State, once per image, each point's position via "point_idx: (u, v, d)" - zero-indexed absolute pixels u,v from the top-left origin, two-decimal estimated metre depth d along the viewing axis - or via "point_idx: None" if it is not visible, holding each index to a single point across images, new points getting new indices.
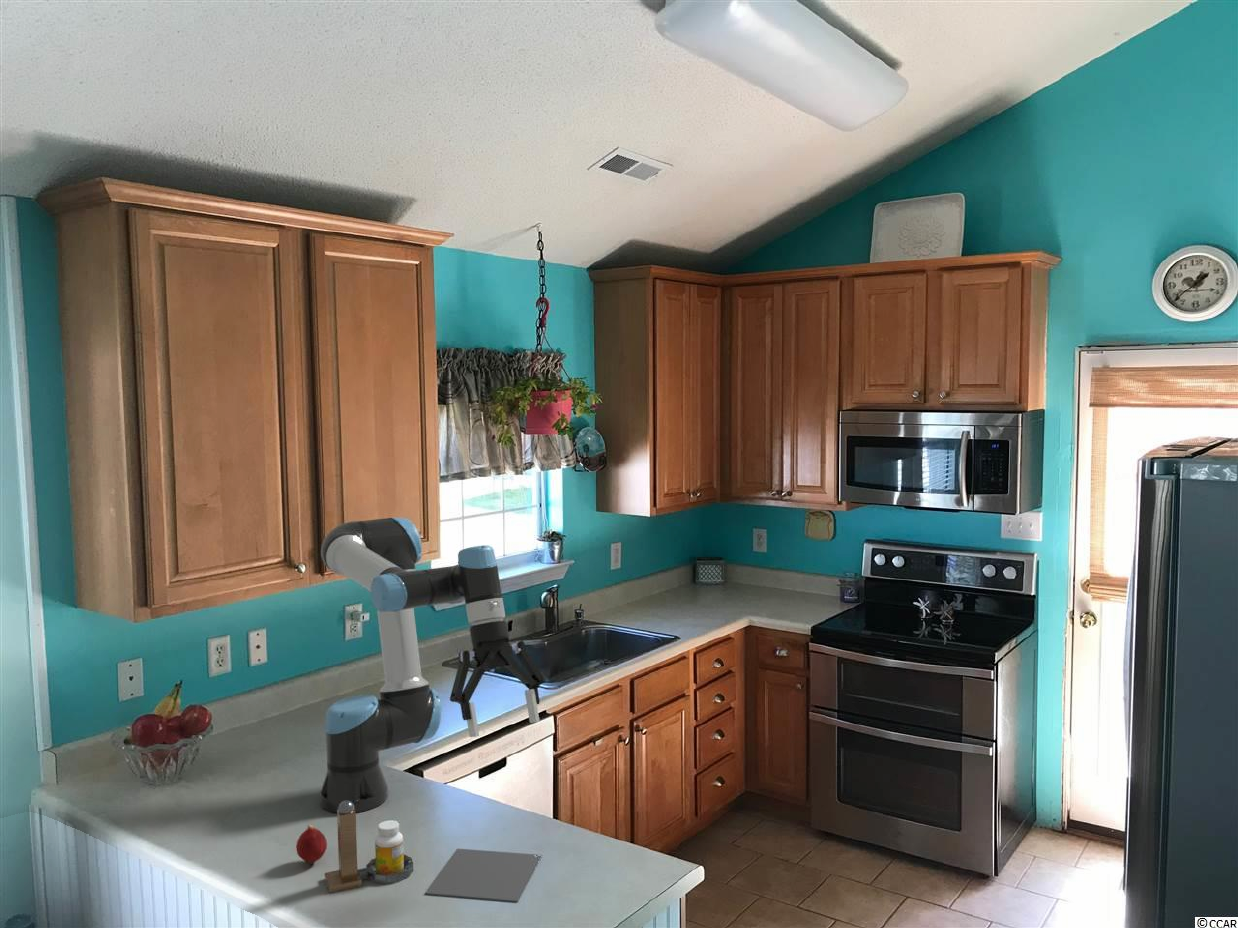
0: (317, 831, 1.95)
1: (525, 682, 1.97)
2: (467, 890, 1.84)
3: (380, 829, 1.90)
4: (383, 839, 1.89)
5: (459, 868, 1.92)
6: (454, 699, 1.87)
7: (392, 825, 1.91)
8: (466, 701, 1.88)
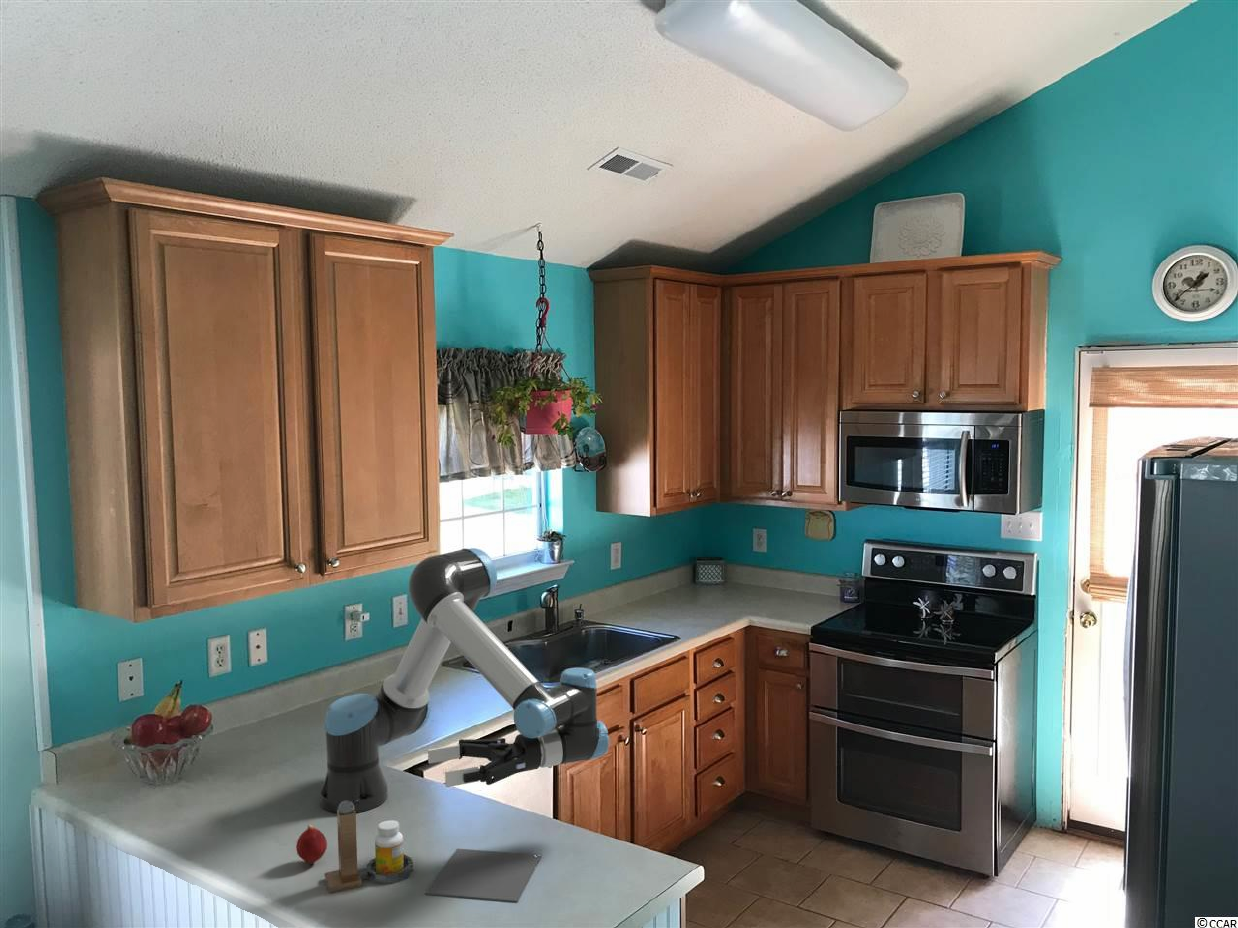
0: (317, 831, 1.95)
1: (467, 751, 2.03)
2: (467, 890, 1.84)
3: (380, 829, 1.90)
4: (383, 839, 1.89)
5: (459, 868, 1.92)
6: (488, 782, 1.89)
7: (392, 825, 1.91)
8: None
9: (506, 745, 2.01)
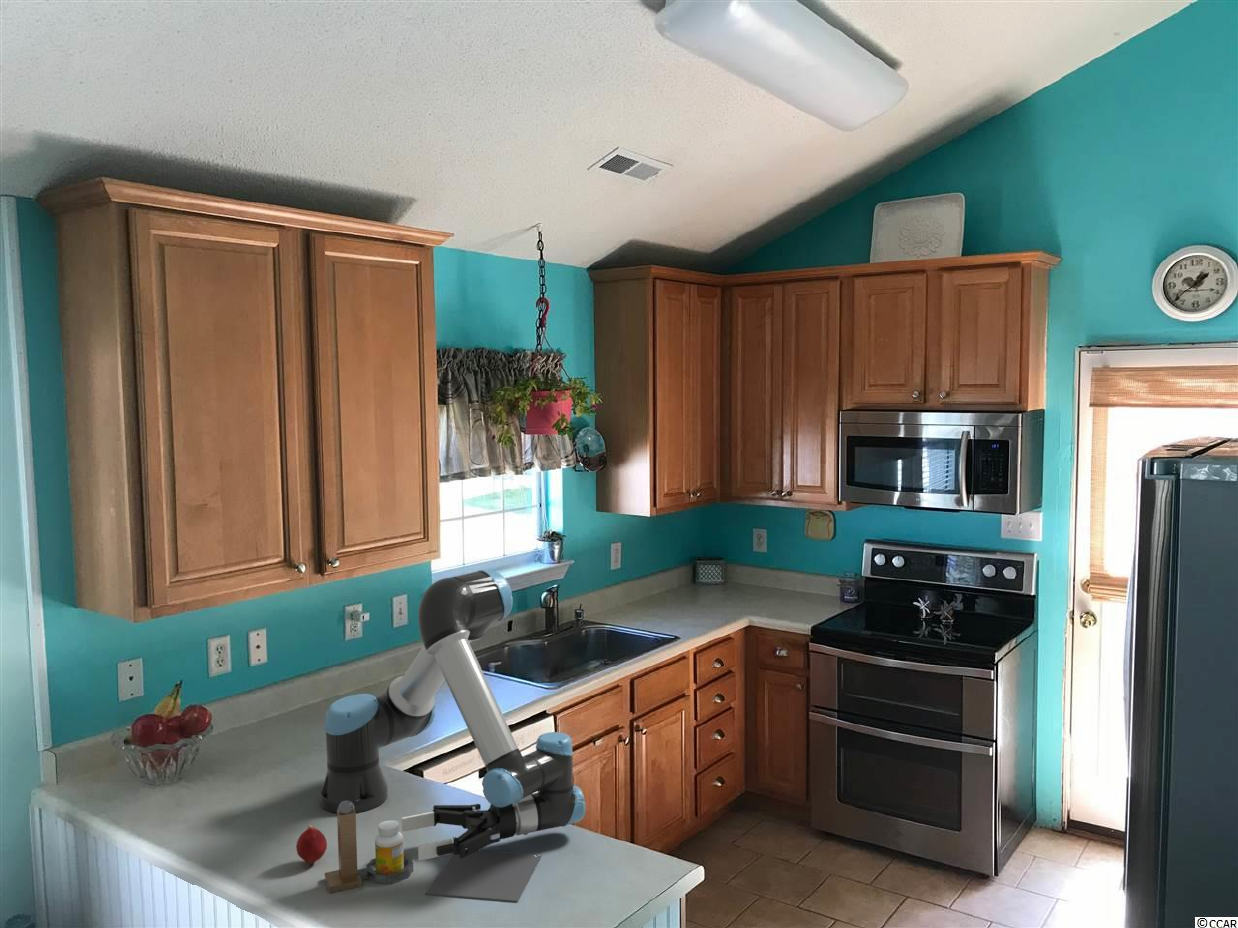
0: (317, 831, 1.95)
1: (441, 818, 2.01)
2: (467, 890, 1.84)
3: (380, 829, 1.90)
4: (383, 839, 1.89)
5: (459, 868, 1.92)
6: (462, 855, 1.87)
7: (392, 825, 1.91)
8: (455, 853, 1.88)
9: (481, 813, 1.99)
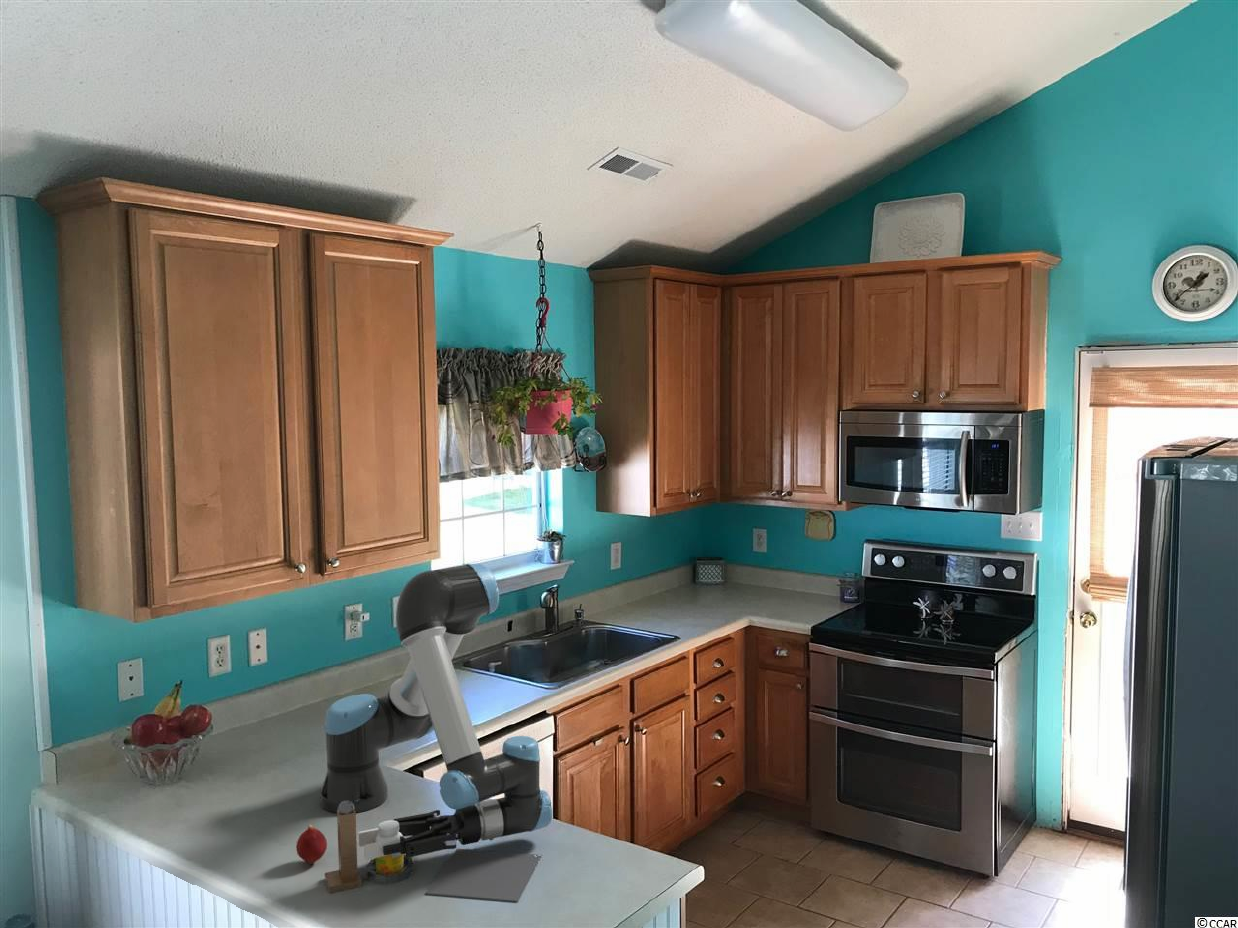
0: (317, 831, 1.95)
1: (402, 830, 1.95)
2: (467, 890, 1.84)
3: (380, 829, 1.90)
4: (383, 839, 1.89)
5: (459, 868, 1.92)
6: (408, 854, 1.87)
7: (392, 825, 1.91)
8: None
9: (446, 817, 1.97)
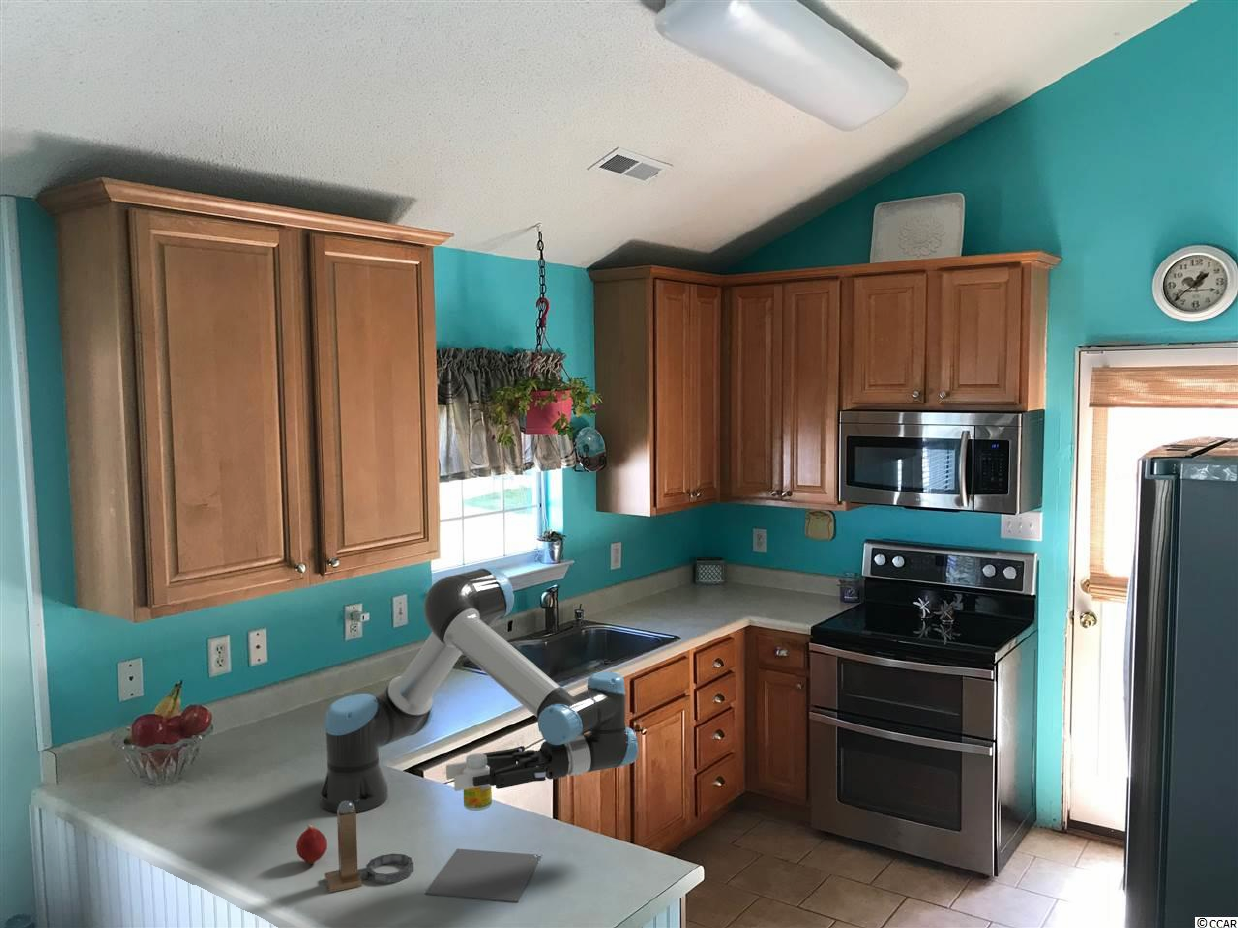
0: (317, 831, 1.95)
1: (489, 765, 1.93)
2: (467, 890, 1.84)
3: (468, 761, 1.87)
4: (472, 771, 1.86)
5: (459, 868, 1.92)
6: (498, 786, 1.84)
7: (480, 757, 1.88)
8: None
9: (533, 752, 1.94)
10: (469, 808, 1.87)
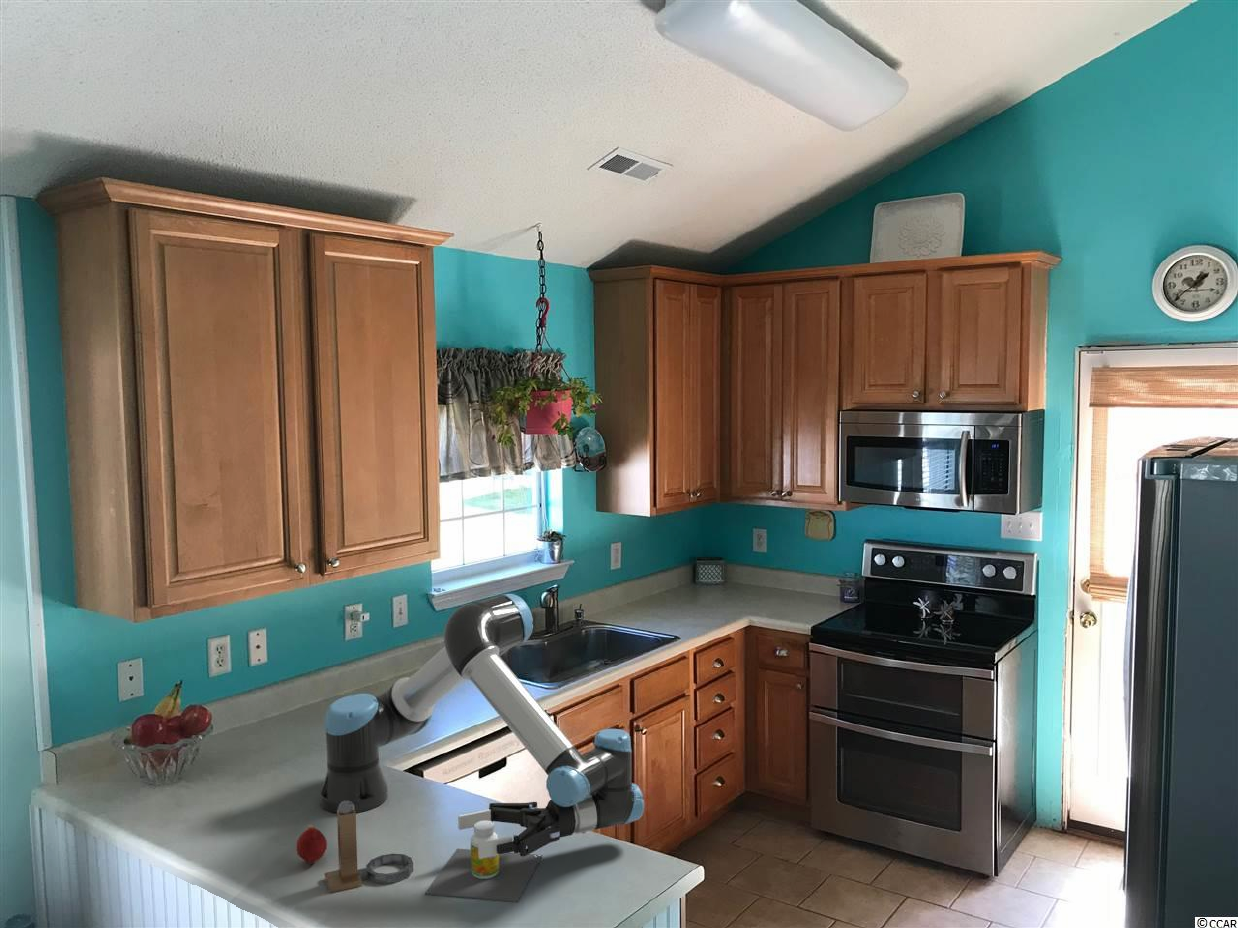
0: (317, 831, 1.95)
1: (498, 816, 1.97)
2: (467, 890, 1.84)
3: (476, 829, 1.88)
4: (480, 840, 1.88)
5: (459, 868, 1.92)
6: (523, 853, 1.83)
7: (488, 825, 1.89)
8: None
9: (539, 811, 1.95)
10: (477, 876, 1.88)
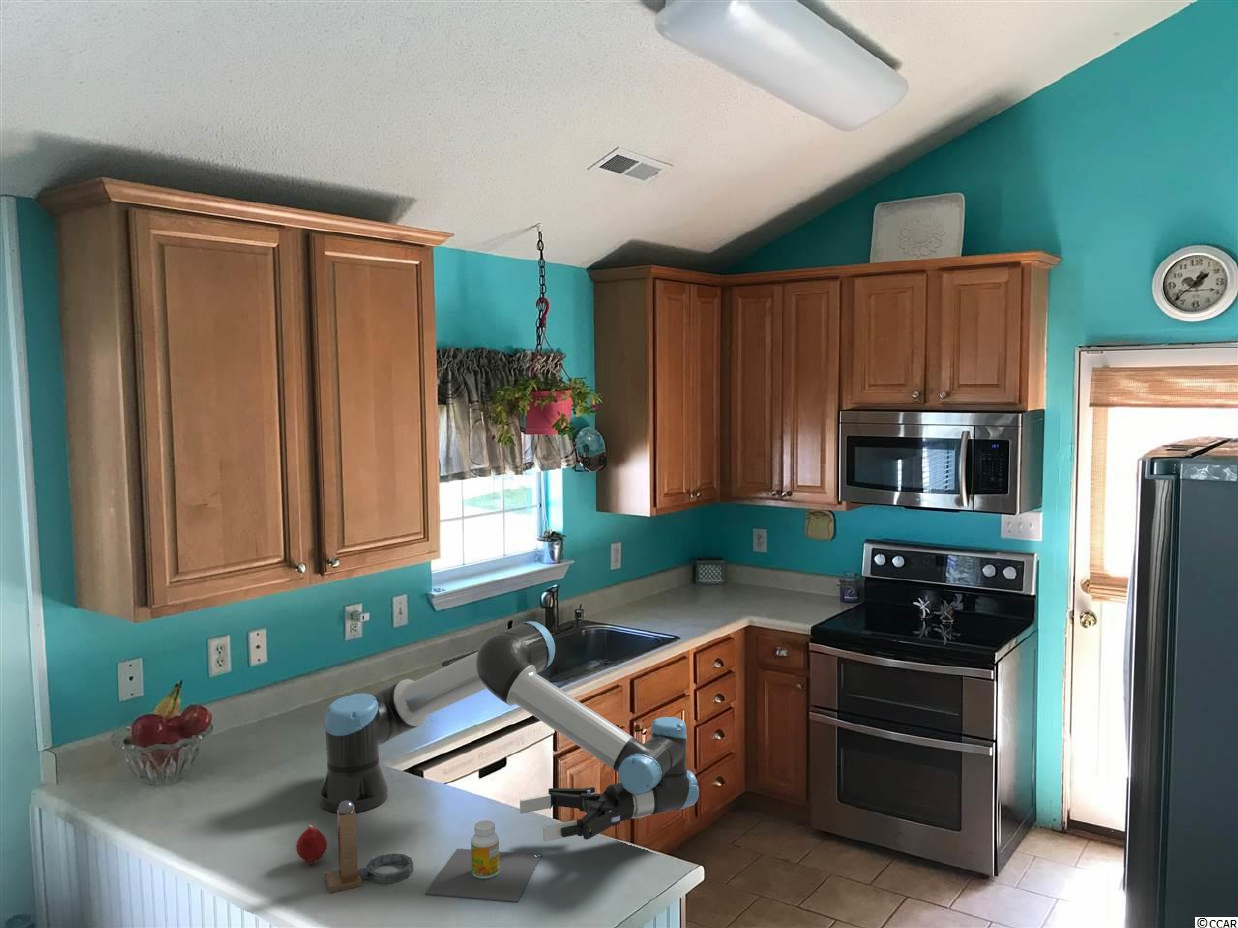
0: (317, 831, 1.95)
1: (558, 801, 2.03)
2: (467, 890, 1.84)
3: (477, 829, 1.88)
4: (480, 839, 1.88)
5: (459, 868, 1.92)
6: (586, 836, 1.88)
7: (488, 825, 1.90)
8: (578, 835, 1.90)
9: (598, 796, 2.01)
10: (477, 876, 1.88)
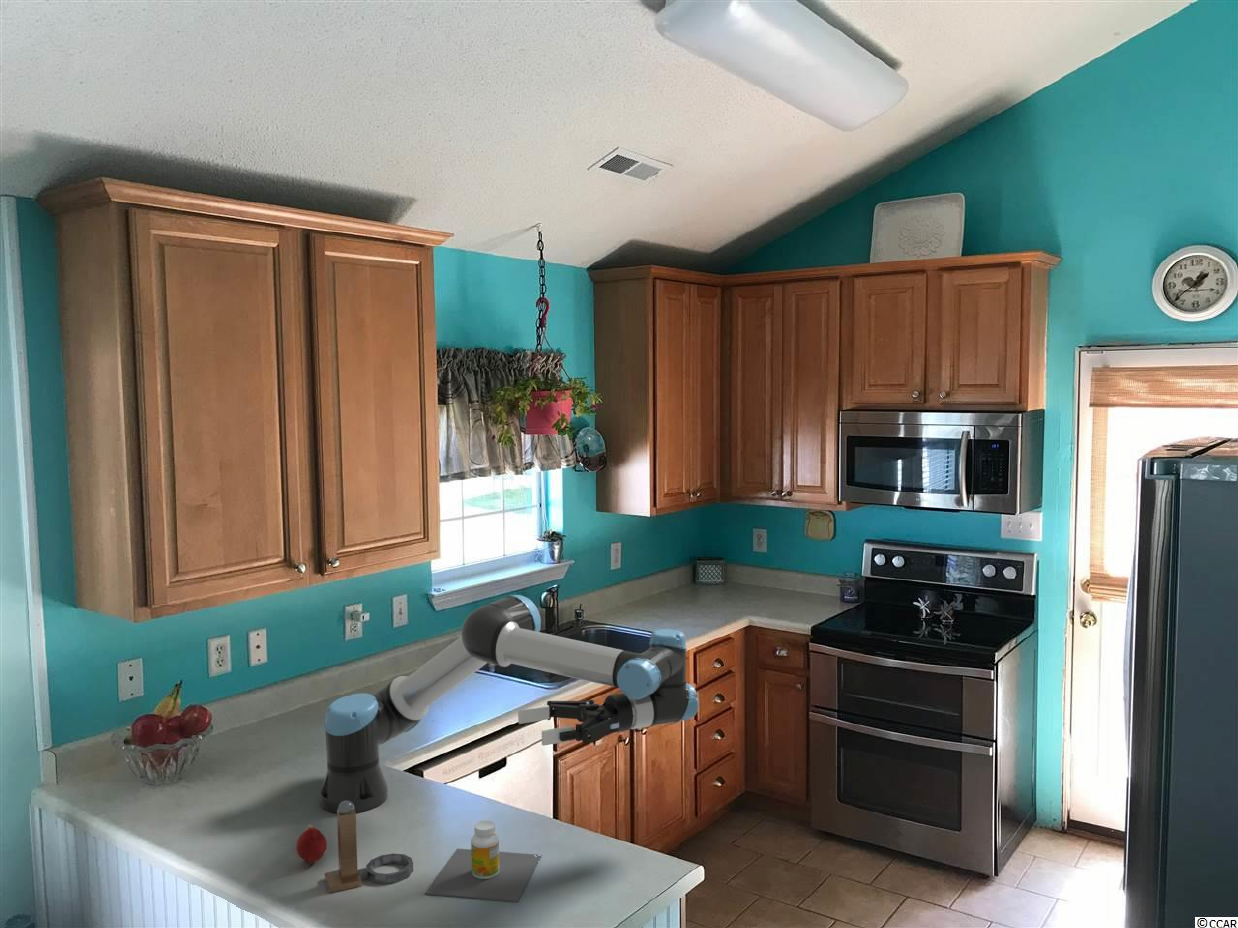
0: (317, 831, 1.95)
1: (556, 712, 2.01)
2: (467, 890, 1.84)
3: (477, 830, 1.88)
4: (480, 840, 1.88)
5: (459, 868, 1.92)
6: (585, 740, 1.87)
7: (488, 825, 1.89)
8: None
9: (597, 706, 1.99)
10: (477, 876, 1.88)
